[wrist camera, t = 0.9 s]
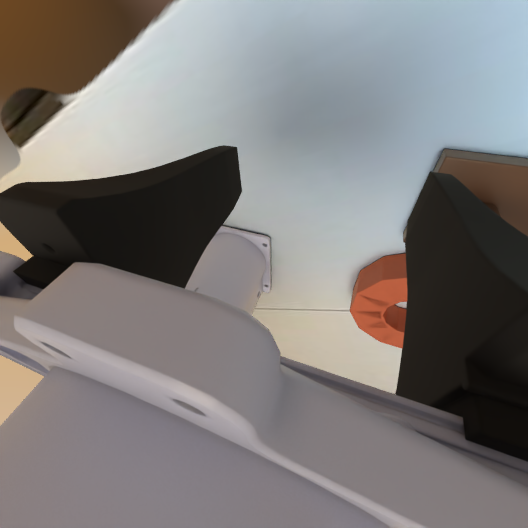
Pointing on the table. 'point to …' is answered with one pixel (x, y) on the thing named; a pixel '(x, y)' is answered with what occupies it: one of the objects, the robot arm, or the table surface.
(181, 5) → the table surface
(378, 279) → the ring
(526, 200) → the brown peg stand
